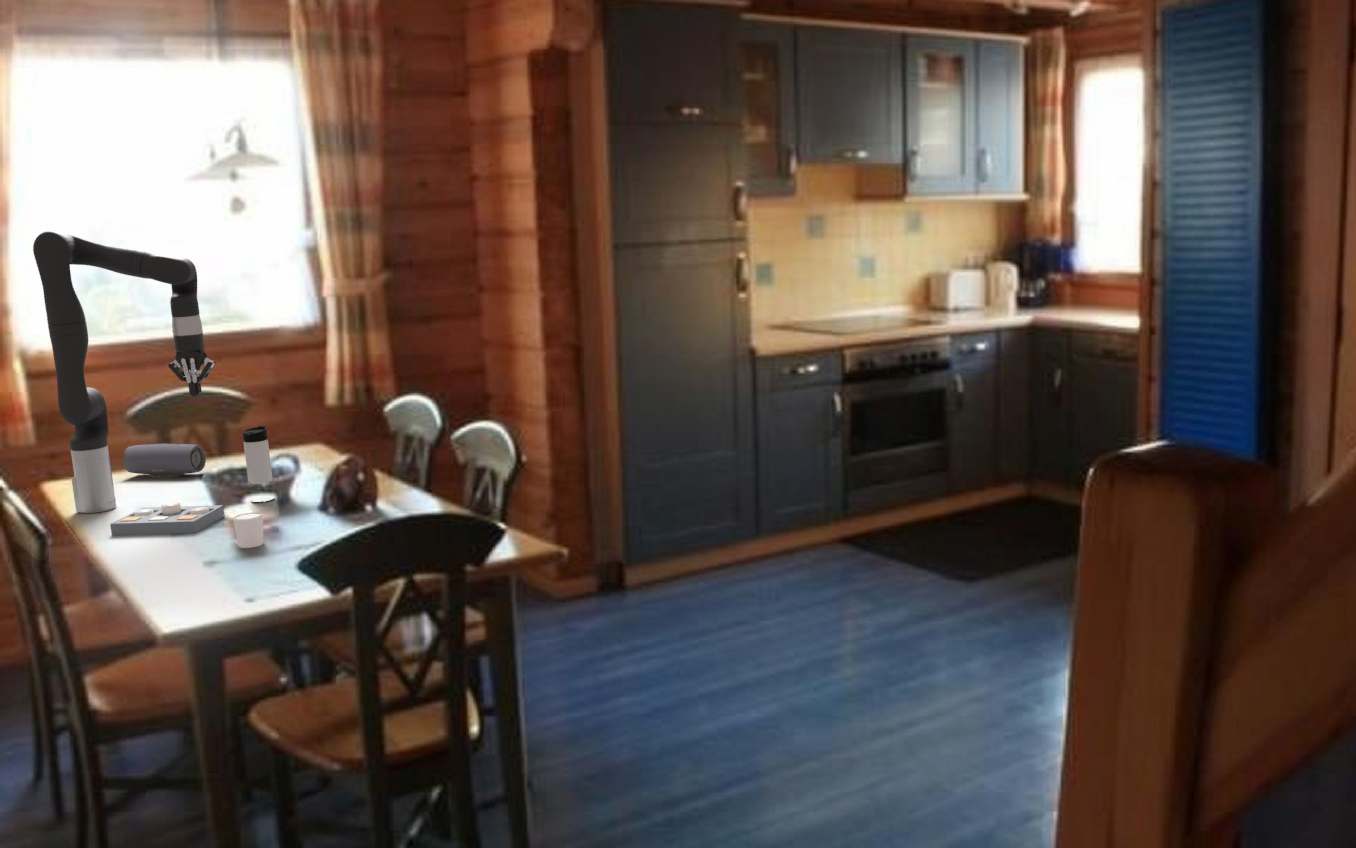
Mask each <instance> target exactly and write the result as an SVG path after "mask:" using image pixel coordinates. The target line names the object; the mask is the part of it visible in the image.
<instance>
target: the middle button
mask: <svg viewBox="0 0 1356 848" xmlns="http://www.w3.org/2000/svg"><path fill="white" fill-rule="evenodd" d="M160 507H161V510H162V515H177V514H179V513H181V507H182V505H181V503H180V502H168V503H164V504H161V505H160Z"/></svg>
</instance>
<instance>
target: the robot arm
mask: <svg viewBox="0 0 1356 848" xmlns="http://www.w3.org/2000/svg"><path fill="white" fill-rule="evenodd" d="M32 251H33V252H32V253H33V256H34V260H35V264H36V267H37V269H38V274H39V277H40V282H41V285H42V289H43V290H42V291H43V299H44V306H45V311H46V320H47V326H48V327H47V328H48V332H49V339H50V344H51V348H52V355H53V363H54V367H55V373H56V384H57V385H56V386H57V404H58V410H59V414H60V415H61V417H62V419H63V420H64V421H65V422H66V423H67V424H69V425H71V426H74V431H73V434H72V436H71V437H70V439H69V449H70V455H71V460H72V461H71V463H72V468H73V475H74V476H73V477H71V485H72V491H73V492H72V493H73V500H74V505H75V506H74V507H75V512H76V513H82V514H93V513H101V512H106V511H110V510H113V509H115V508H116V507H117V502H116V495H115V494H116V493H115V487H114V481H113V474H112V467H111V458H110V453H109V446H108V437H109V432H110V431H109V429H110V428H109V419H108V418H109V417H108V409H107V403H106V400H105V397H104V395H103V394H102V393H101V392H100V391H99V390H98V389H97V388H94V387H88V386H87V383H86V378H85V364H86V358H87V352H88V349H89V331H88V325H87V320H86V315H85V312H84V309H83V306H82V304H81V302H80V299H79V298H78V295H77V293H76V290H75V289H74V285H73V280H72V274H71V266H70V265H75V266H76V265H79V266H80V265H81V266H90V267H97V268H99V269H100V268H101V269H104V270H107V271H111V272H114V273H117V274H122V275H125V276H130V277H135V278H142V279H146V280H147V279H148V280H149V279H150V280H154V281H155V282H156V281H157V282H159V283H160V282H161V283H164V284H168V285H171V297H170V303H169V304H170V312H171V327H172V336H173V343H174V350H175V356H174V360H173V361H171V362H170V363H168V365H167V366H168V368H169V369H170V370H171V371H172V372H173V374H174V375H175V376H177V378H178V379H179V380H180V381H181V382H185V383H187V385H188V393H189V394H190V396H191V397H193V398H196V397H200V396H201V394H202V381H204V380H206V379H208V377H209V375H210V373H211V372H212V370H213V368H214V367H215V365H216V361H215V360H212V359H210V358H208V355H207V353H206V351H205V347H206V346H205V339H204V331H203V325H202V319H201V315H200V307H199V302H198V301H199V300H198V274H197V269H196V265H195V264H194V262H192V261H191V259H188V258H185V257H179V258H174V257H166V256H163V255H161V256H160V255H156V254H155V253H152V252H149V251H143V250H138V249H133V248H125V247H120V246H113V245H107V244H102V243H97V242H93V241H89V240H88V239H83V238H80V237H77V236H74V235H72V234H70V233H67V232H64V231H62V230H49V231H43V232H42V233H40V234H38V236H36V237H35V239H34V242H33V246H32ZM203 366H204V368H203ZM202 368H203V369H202Z"/></svg>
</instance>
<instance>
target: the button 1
mask: <svg viewBox="0 0 1356 848" xmlns="http://www.w3.org/2000/svg"><path fill="white" fill-rule="evenodd" d="M137 510H138V511H137ZM137 510H136V511H133V512H134V516H149V515H151V514H153V513H154V511H153V509H143V510H139V509H137Z"/></svg>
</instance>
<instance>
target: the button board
mask: <svg viewBox="0 0 1356 848" xmlns="http://www.w3.org/2000/svg"><path fill="white" fill-rule="evenodd" d="M199 507H208V508H209V512H207V513H206V514H190V510H191V509H194V508H199ZM143 509H153V511H154V513H153V514H151V515H149V516H134V512H135V511H133V512H132V513H129V514H127V515H125V516H123V517H121V518H118V519H117V520H116V521H113V522H111V523H110V524H109V526H110V532H111V536H136V535H135V534H144V535H171V534H172V535H173V534H175V535H177V534H196V533H198V532H200V531H201V530H203V529H205V528H207V527H208V526H210V525H212V524H214V523H216V522H217V521H220V520H221V519H223V518H224V517H223V515H224V516H225V510H224V505H223V504H221V505H219V504H218V505H217V504H215V505H189V506H181V513H179V514H177V515H162V510H161V506H158V507H157V506H155V507H154V506H153V507H151V506H150V507H142V508H140V509H137V510H136V511H138V510H143Z"/></svg>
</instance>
